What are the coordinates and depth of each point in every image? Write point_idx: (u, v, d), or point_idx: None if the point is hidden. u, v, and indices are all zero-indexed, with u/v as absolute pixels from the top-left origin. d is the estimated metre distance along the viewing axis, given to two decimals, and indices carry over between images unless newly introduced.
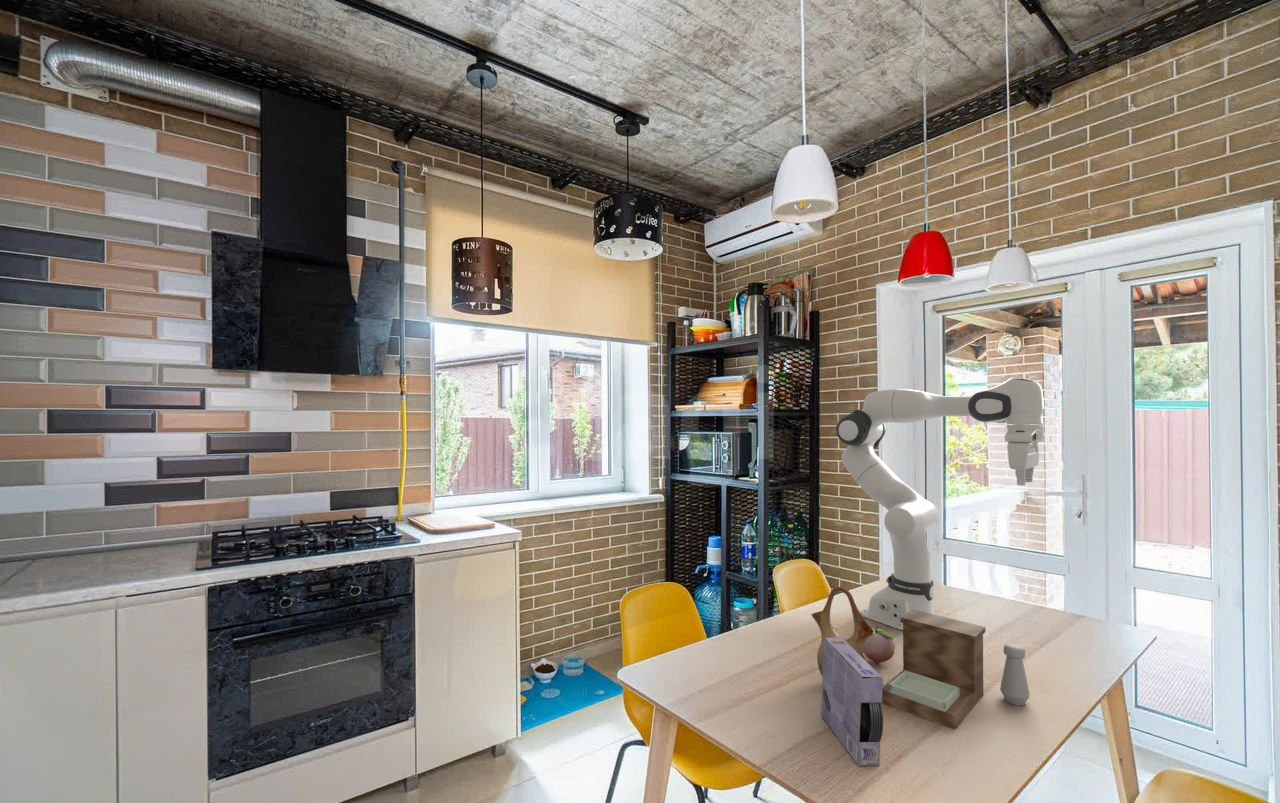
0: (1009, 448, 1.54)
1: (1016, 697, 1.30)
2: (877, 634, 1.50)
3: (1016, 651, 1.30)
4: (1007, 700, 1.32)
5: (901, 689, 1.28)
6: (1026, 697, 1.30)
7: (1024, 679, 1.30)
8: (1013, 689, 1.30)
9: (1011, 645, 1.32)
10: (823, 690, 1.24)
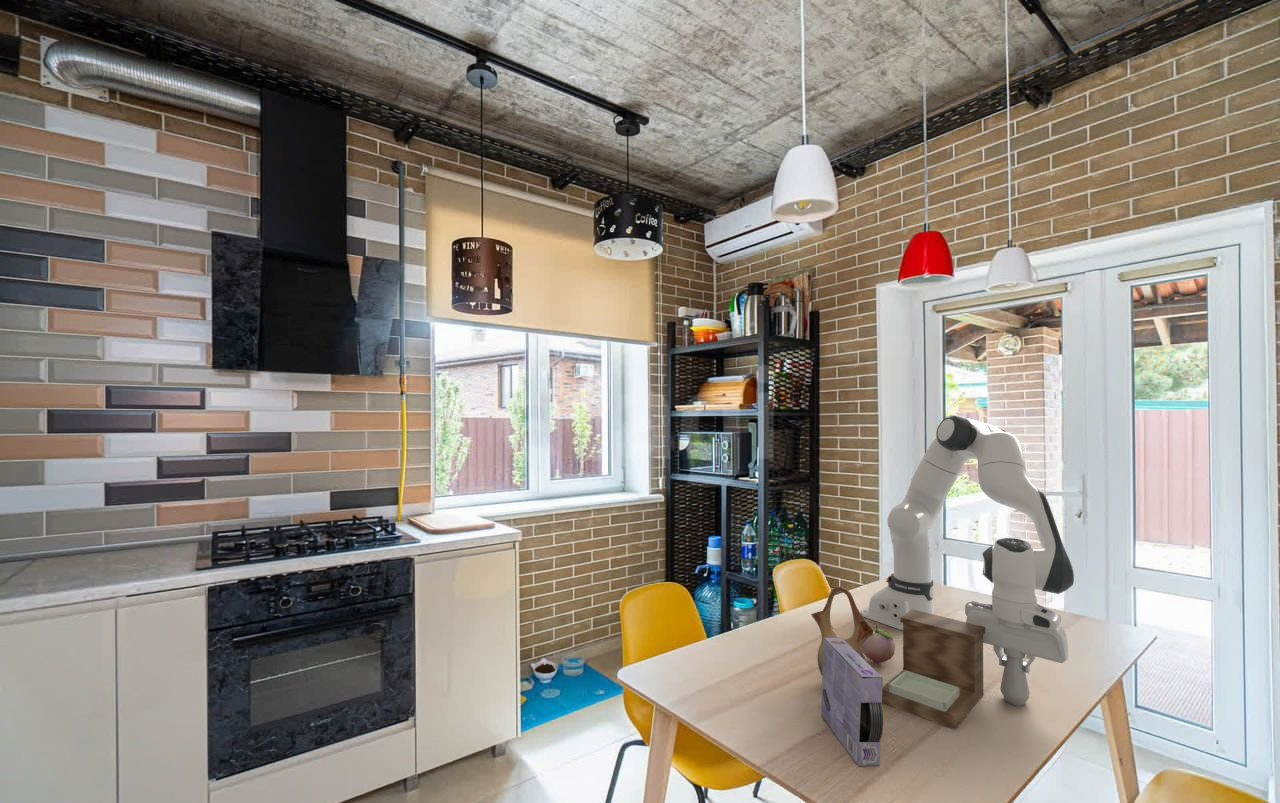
0: (1062, 638, 1.24)
1: (1016, 697, 1.30)
2: (877, 634, 1.50)
3: (1016, 651, 1.30)
4: (1007, 700, 1.32)
5: (901, 689, 1.28)
6: (1026, 697, 1.30)
7: (1024, 679, 1.30)
8: (1013, 689, 1.30)
9: None
10: (823, 690, 1.24)
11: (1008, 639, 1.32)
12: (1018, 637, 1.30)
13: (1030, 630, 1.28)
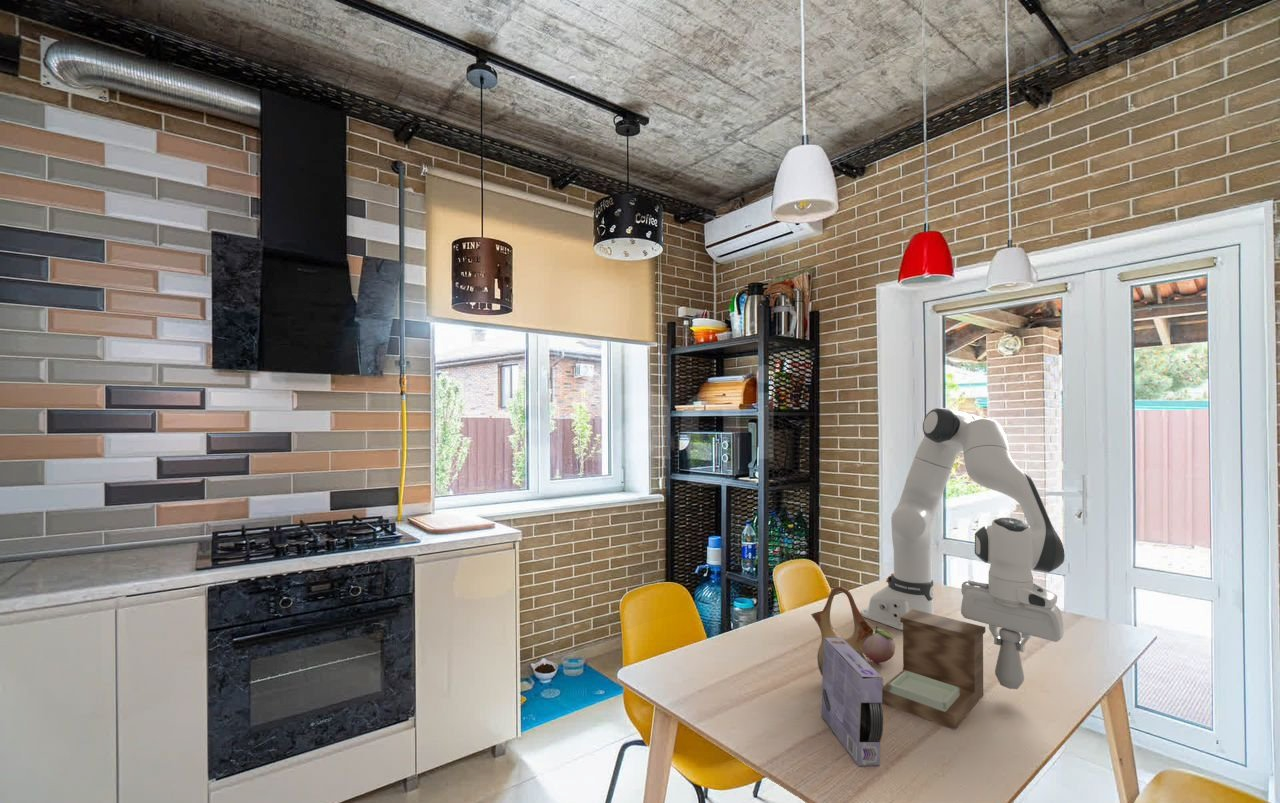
0: (1057, 617, 1.25)
1: (1012, 681, 1.30)
2: (877, 634, 1.50)
3: (1012, 636, 1.31)
4: (1002, 684, 1.32)
5: (901, 689, 1.28)
6: (1021, 681, 1.30)
7: (1019, 663, 1.31)
8: (1009, 673, 1.30)
9: (1007, 629, 1.33)
10: (823, 690, 1.24)
11: (1003, 618, 1.32)
12: (1013, 616, 1.31)
13: (1025, 609, 1.29)
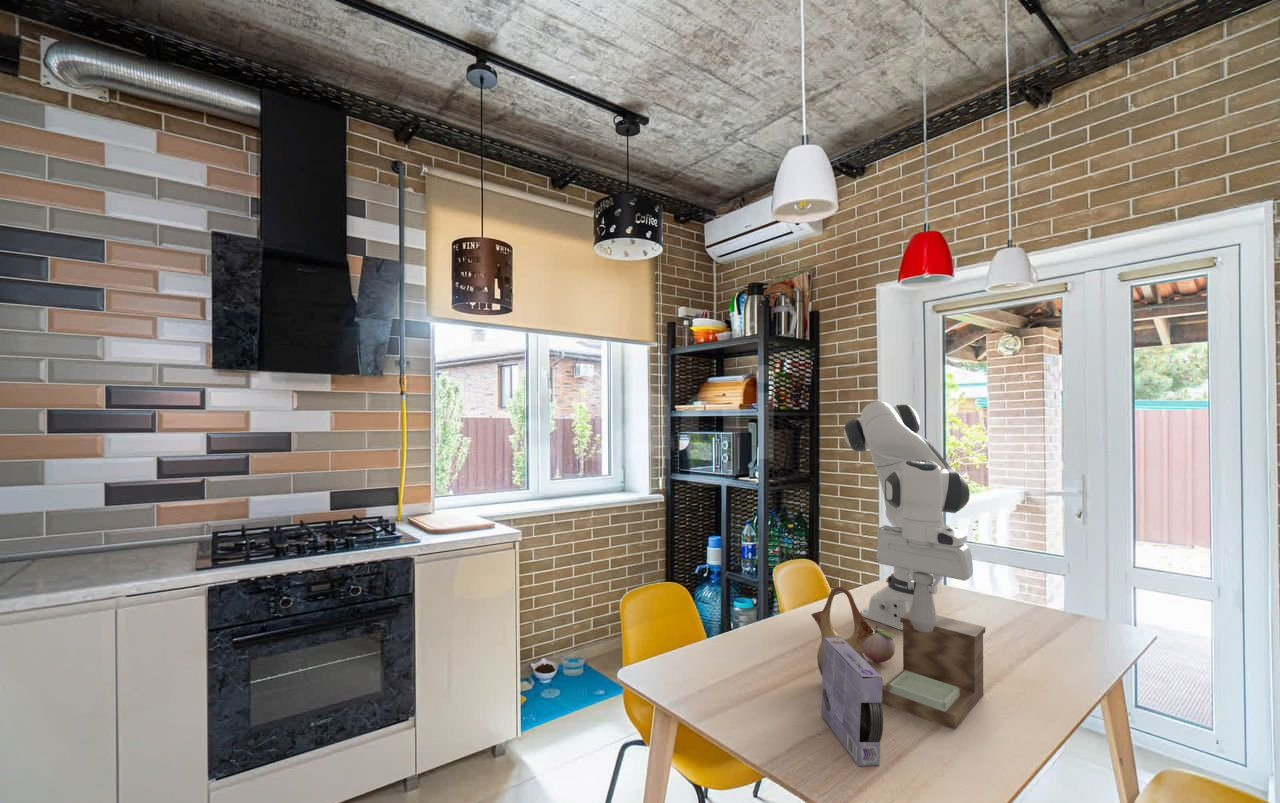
0: (965, 555, 1.22)
1: (924, 624, 1.27)
2: (877, 634, 1.50)
3: (924, 578, 1.28)
4: (915, 628, 1.29)
5: (901, 689, 1.28)
6: (933, 623, 1.27)
7: (932, 605, 1.28)
8: (921, 616, 1.28)
9: (920, 572, 1.30)
10: (823, 690, 1.24)
11: (916, 560, 1.29)
12: (924, 558, 1.28)
13: (935, 549, 1.26)
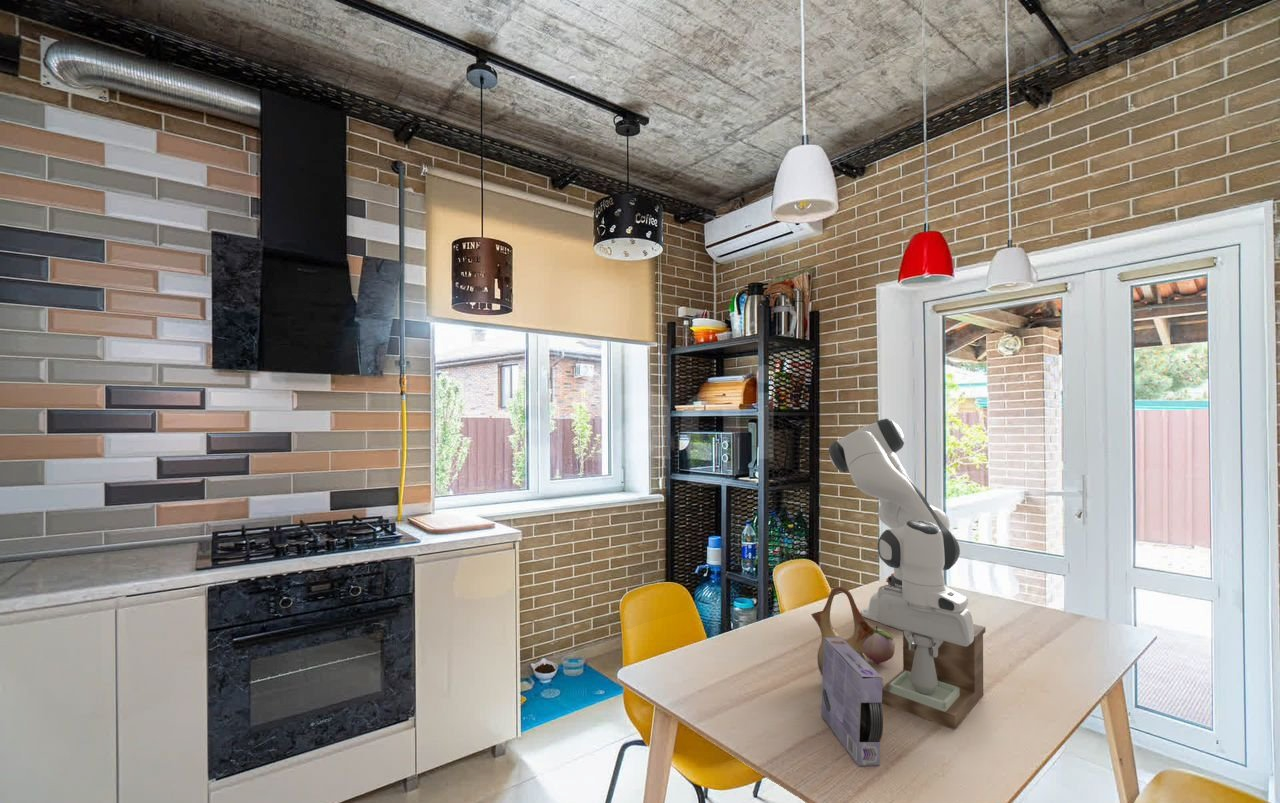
0: (966, 621, 1.22)
1: (925, 687, 1.27)
2: (877, 634, 1.50)
3: (925, 640, 1.28)
4: (916, 690, 1.29)
5: (901, 689, 1.28)
6: (934, 686, 1.27)
7: (932, 668, 1.28)
8: (922, 679, 1.27)
9: (920, 634, 1.30)
10: (823, 690, 1.24)
11: (916, 623, 1.29)
12: (925, 621, 1.28)
13: (936, 613, 1.26)
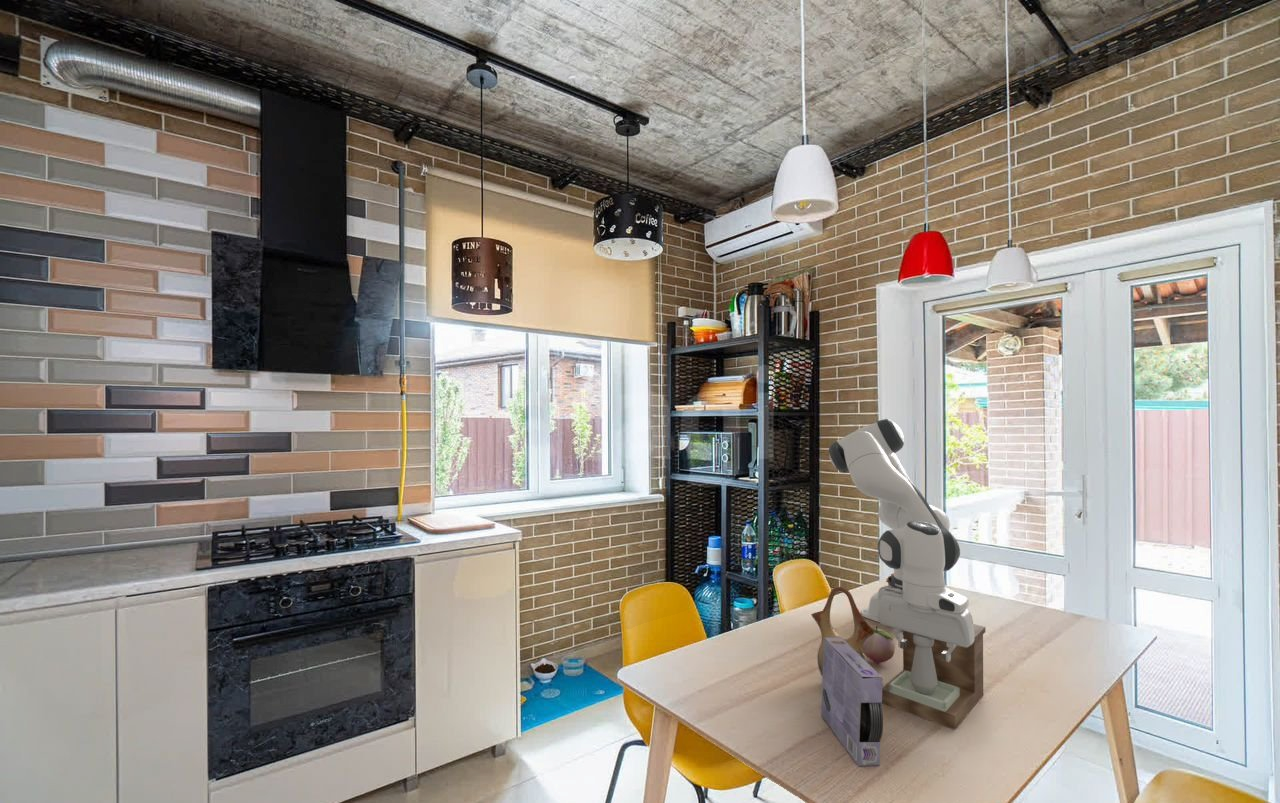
0: (966, 622, 1.22)
1: (925, 687, 1.27)
2: (877, 634, 1.50)
3: (925, 640, 1.28)
4: (916, 690, 1.29)
5: (901, 689, 1.28)
6: (934, 686, 1.27)
7: (932, 668, 1.28)
8: (922, 679, 1.27)
9: None
10: (823, 690, 1.24)
11: (917, 624, 1.29)
12: (926, 622, 1.28)
13: (937, 614, 1.26)
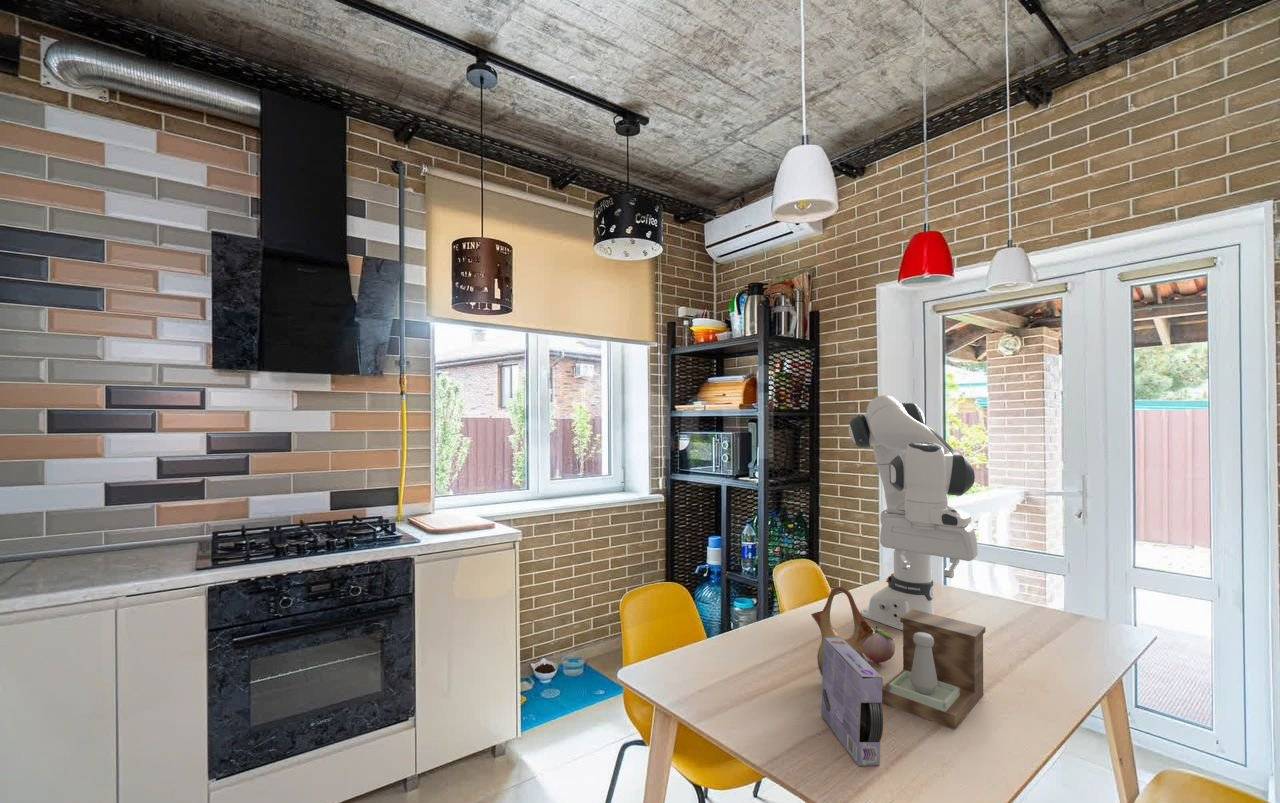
0: (969, 535, 1.22)
1: (925, 687, 1.27)
2: (877, 634, 1.50)
3: (925, 640, 1.28)
4: (916, 690, 1.29)
5: (901, 689, 1.28)
6: (934, 686, 1.27)
7: (932, 668, 1.28)
8: (922, 679, 1.27)
9: (920, 634, 1.30)
10: (823, 690, 1.24)
11: (920, 542, 1.29)
12: (929, 540, 1.28)
13: (940, 530, 1.26)
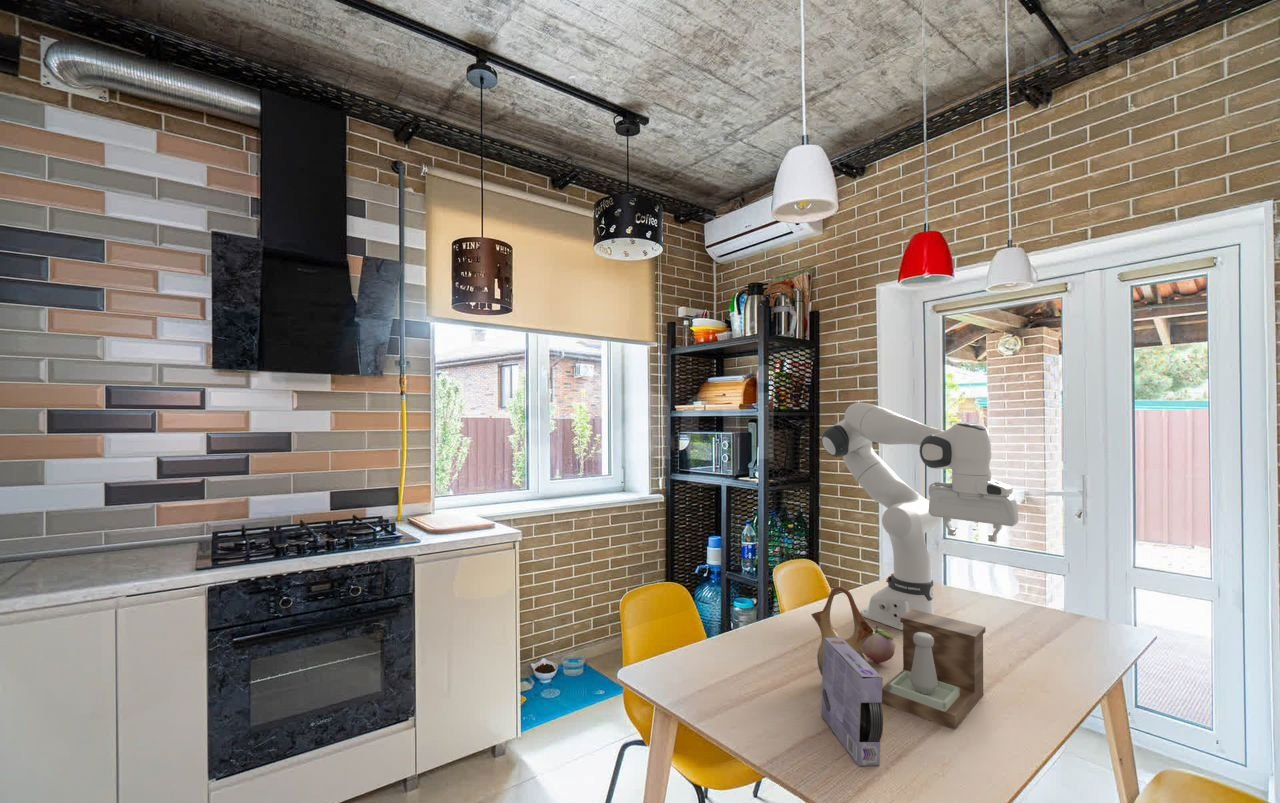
0: (1012, 503, 1.38)
1: (925, 687, 1.27)
2: (877, 634, 1.50)
3: (925, 640, 1.28)
4: (916, 690, 1.29)
5: (901, 689, 1.28)
6: (934, 686, 1.27)
7: (932, 668, 1.28)
8: (922, 679, 1.27)
9: (920, 634, 1.30)
10: (823, 690, 1.24)
11: (966, 511, 1.45)
12: (974, 508, 1.44)
13: (984, 500, 1.42)
